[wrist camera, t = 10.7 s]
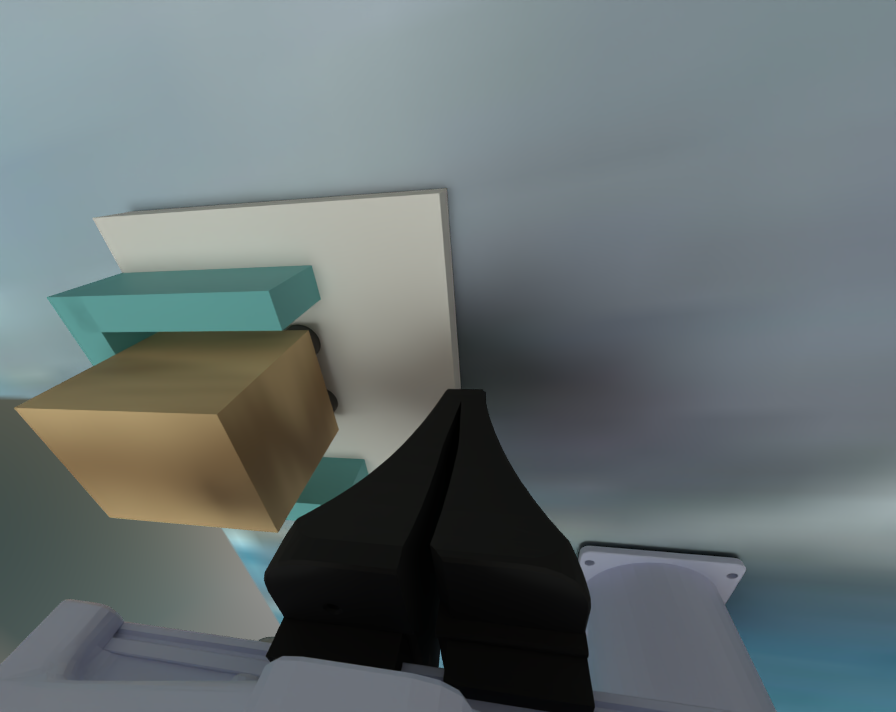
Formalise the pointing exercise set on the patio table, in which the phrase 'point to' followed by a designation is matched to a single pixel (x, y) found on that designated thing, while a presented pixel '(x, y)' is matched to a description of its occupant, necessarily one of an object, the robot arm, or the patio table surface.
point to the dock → (297, 303)
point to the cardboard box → (195, 427)
